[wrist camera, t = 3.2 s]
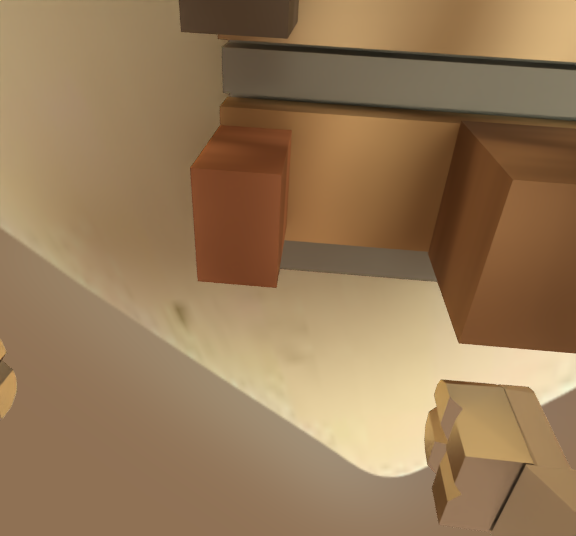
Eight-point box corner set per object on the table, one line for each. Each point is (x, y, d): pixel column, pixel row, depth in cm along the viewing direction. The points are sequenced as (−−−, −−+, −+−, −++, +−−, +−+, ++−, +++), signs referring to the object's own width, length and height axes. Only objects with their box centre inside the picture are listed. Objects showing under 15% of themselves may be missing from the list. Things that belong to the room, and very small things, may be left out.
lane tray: (235, 240, 21) (223, 275, 19) (229, -235, 13) (206, -280, 10) (551, 266, 20) (580, 304, 18) (754, -212, 12) (854, -254, 10)
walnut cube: (427, 253, 18) (458, 343, 13) (461, 120, 15) (512, 179, 11) (562, 265, 17) (636, 358, 13) (620, 131, 15) (737, 196, 11)
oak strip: (229, 218, 19) (198, 297, 14) (227, 96, 16) (188, 145, 12) (548, 244, 19) (619, 332, 14) (598, 122, 16) (704, 183, 11)
